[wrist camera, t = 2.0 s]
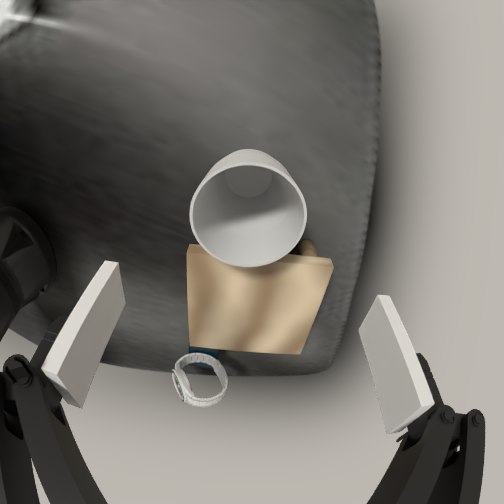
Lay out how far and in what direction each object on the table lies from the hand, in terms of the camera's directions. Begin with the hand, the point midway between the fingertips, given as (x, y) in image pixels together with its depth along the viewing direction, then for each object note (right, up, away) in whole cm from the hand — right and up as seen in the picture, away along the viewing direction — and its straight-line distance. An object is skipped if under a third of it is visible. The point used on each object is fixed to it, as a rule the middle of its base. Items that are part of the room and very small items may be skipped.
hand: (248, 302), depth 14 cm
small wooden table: (0, -1, +21) cm, 21 cm away
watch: (-7, -11, +29) cm, 31 cm away
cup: (0, +10, +14) cm, 18 cm away
